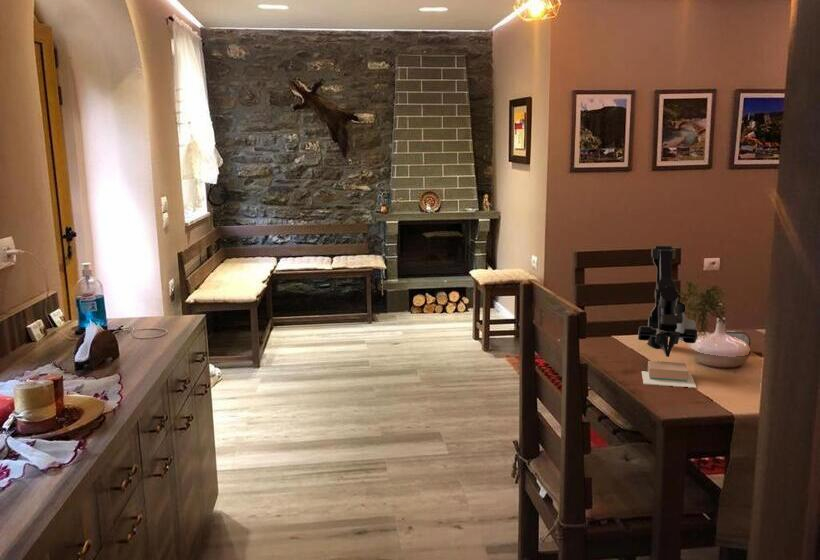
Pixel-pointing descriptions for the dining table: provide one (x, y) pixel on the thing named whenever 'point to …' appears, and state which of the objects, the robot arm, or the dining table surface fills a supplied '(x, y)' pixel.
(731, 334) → the tin
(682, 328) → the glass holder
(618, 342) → the dining table surface
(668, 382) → the mat
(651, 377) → the tile
